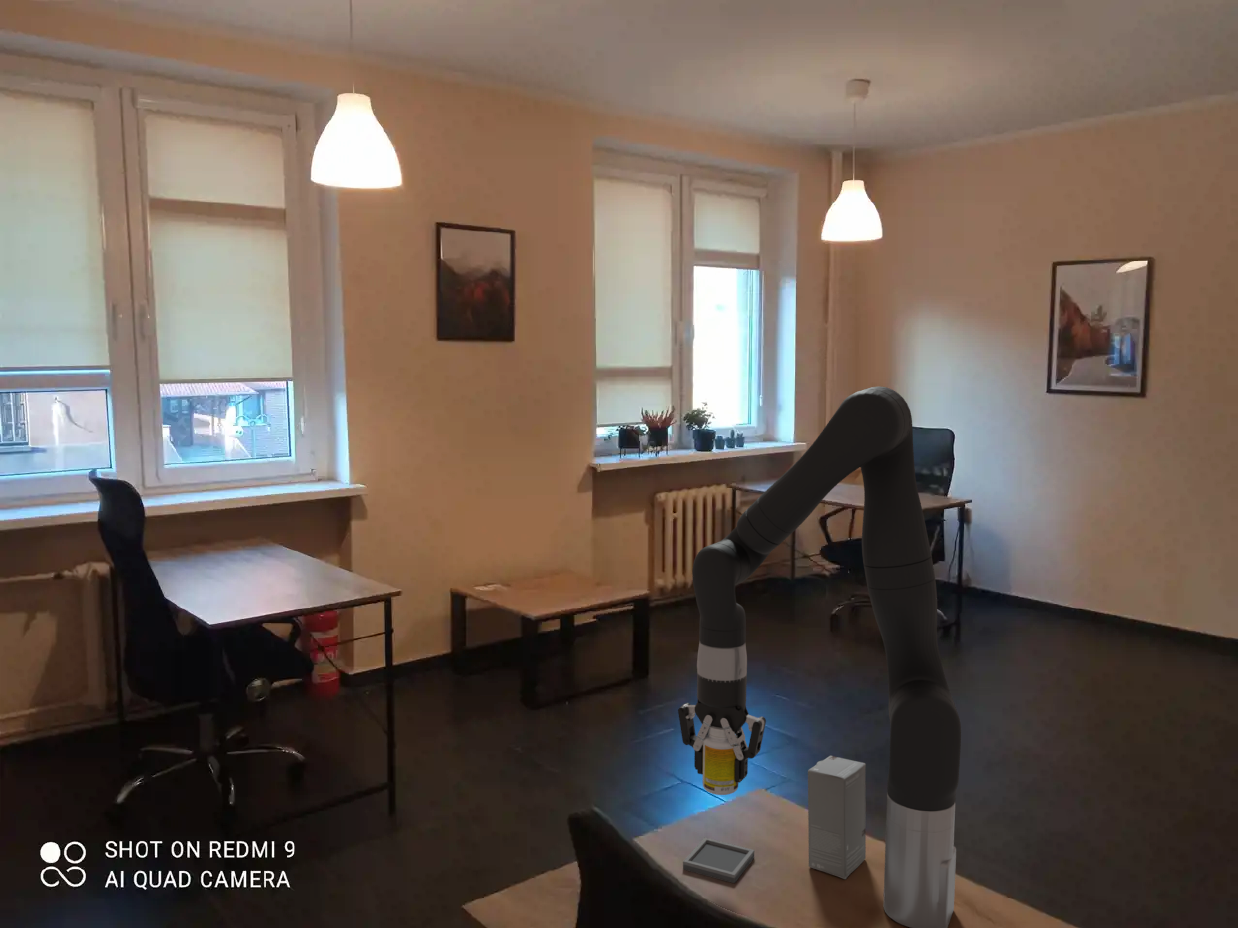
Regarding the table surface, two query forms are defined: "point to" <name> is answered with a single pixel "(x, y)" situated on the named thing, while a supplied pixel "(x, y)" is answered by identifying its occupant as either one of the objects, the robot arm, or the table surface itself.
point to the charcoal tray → (719, 860)
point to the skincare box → (836, 816)
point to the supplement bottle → (718, 763)
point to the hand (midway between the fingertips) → (720, 775)
